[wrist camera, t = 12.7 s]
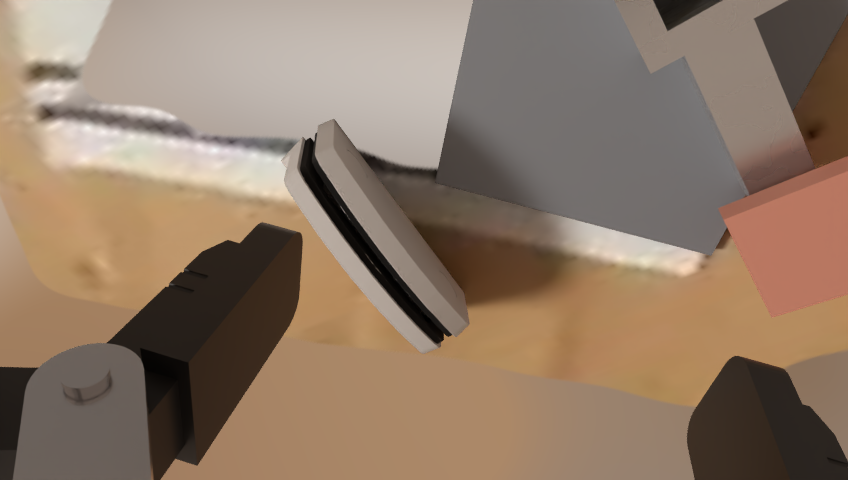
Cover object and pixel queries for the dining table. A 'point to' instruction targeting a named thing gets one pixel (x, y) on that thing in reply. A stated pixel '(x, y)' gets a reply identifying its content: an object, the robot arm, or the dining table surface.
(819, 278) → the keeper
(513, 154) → the board
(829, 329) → the dining table surface
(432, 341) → the grey arched slotted block
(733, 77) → the grey long bar
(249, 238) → the robot arm
